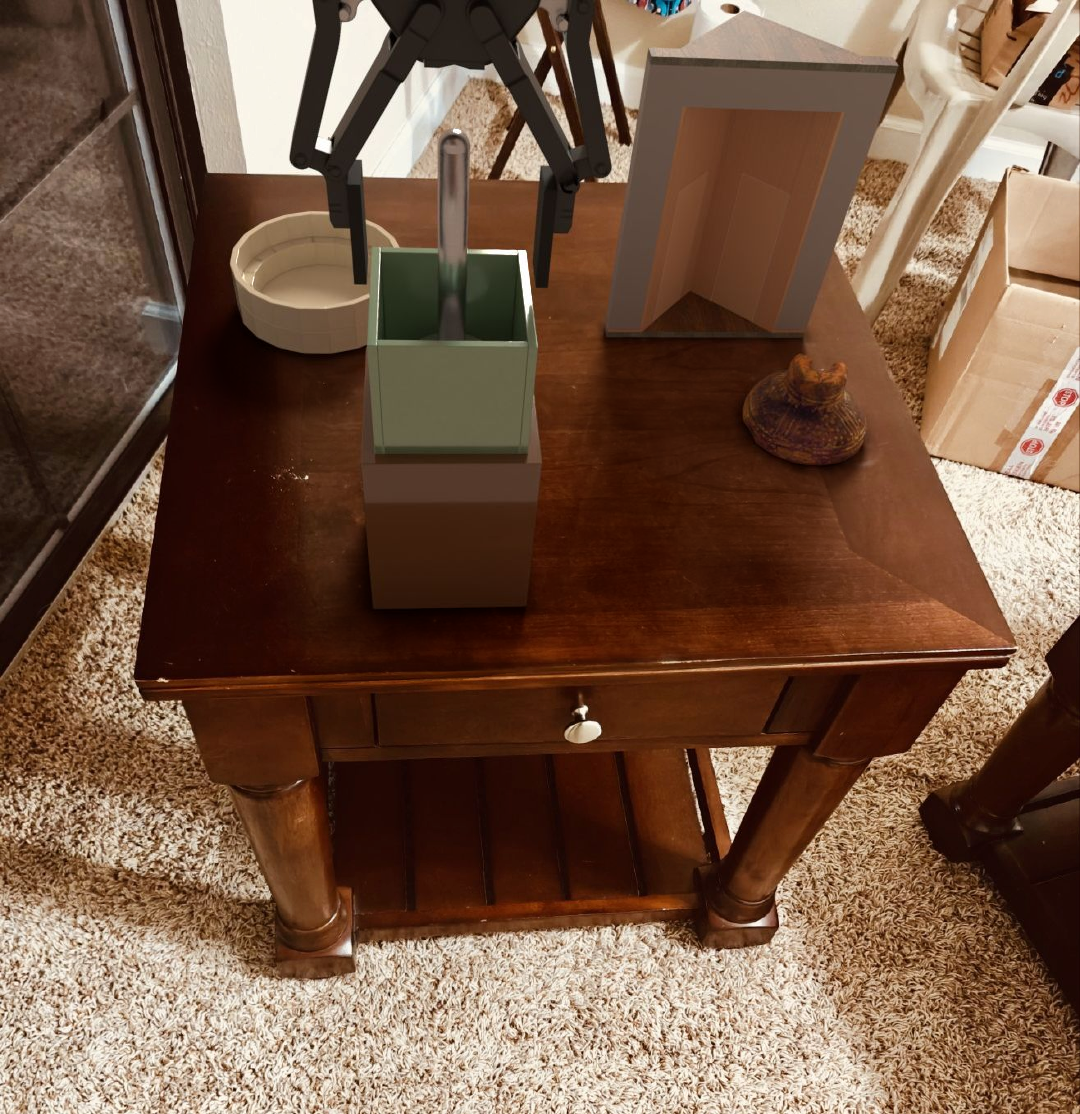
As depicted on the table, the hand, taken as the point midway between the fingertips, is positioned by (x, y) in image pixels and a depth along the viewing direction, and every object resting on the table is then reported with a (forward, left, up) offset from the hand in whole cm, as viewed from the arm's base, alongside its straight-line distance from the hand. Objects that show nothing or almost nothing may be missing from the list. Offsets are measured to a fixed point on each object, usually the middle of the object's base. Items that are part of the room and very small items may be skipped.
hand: (451, 273), depth 61 cm
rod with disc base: (0, 0, -10) cm, 10 cm away
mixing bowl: (-12, +32, -27) cm, 43 cm away
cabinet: (+27, +33, -27) cm, 50 cm away
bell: (+34, +15, -27) cm, 46 cm away
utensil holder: (0, 0, -27) cm, 27 cm away
